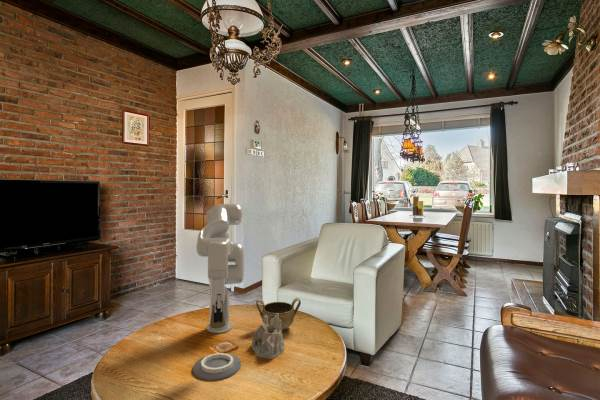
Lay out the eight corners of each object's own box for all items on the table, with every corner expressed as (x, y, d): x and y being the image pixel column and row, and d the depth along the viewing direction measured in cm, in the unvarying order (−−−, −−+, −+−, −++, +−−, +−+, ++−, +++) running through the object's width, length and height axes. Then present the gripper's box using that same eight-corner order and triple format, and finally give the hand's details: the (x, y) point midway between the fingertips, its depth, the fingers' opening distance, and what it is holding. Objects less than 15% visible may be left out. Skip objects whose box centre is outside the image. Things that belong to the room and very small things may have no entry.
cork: (211, 322, 131) (211, 294, 130) (226, 321, 131) (226, 294, 131) (208, 328, 125) (208, 299, 124) (224, 328, 125) (224, 299, 125)
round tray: (192, 359, 134) (192, 353, 134) (237, 352, 139) (237, 347, 139) (193, 384, 117) (193, 377, 117) (244, 375, 122) (244, 368, 122)
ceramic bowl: (299, 321, 174) (299, 293, 174) (301, 335, 157) (302, 304, 157) (256, 322, 172) (257, 293, 172) (254, 336, 156) (255, 305, 155)
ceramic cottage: (260, 337, 155) (260, 306, 153) (291, 346, 147) (291, 314, 146) (240, 353, 141) (240, 320, 139) (273, 364, 133) (273, 329, 132)
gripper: (206, 268, 134) (206, 313, 134) (209, 279, 118) (208, 329, 119) (225, 267, 136) (225, 311, 137) (230, 277, 120) (229, 327, 121)
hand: (217, 319), depth 128 cm, fingers closed on cork, 4 cm apart
